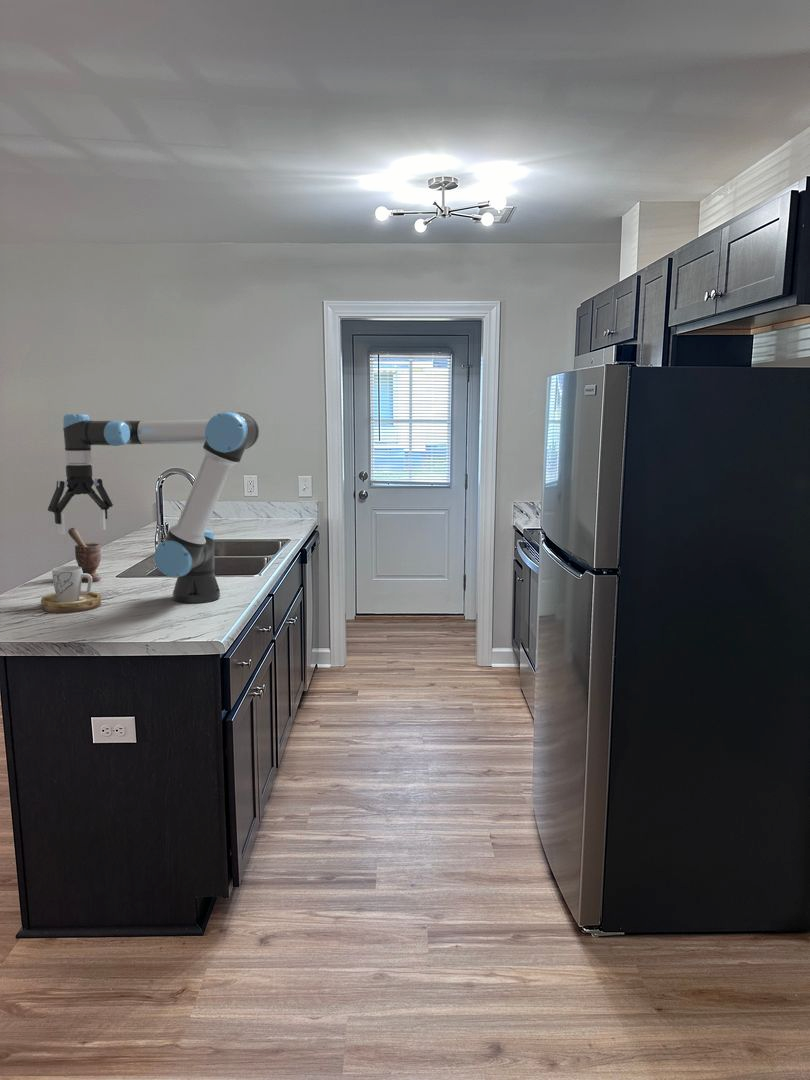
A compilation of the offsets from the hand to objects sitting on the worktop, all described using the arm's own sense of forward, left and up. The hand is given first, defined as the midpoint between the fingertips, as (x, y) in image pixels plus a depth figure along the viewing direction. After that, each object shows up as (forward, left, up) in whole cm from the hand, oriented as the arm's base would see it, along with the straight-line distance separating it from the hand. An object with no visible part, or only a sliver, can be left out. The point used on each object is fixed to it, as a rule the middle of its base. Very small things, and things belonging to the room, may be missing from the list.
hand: (82, 532), depth 240 cm
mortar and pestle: (+29, -16, -23) cm, 40 cm away
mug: (-2, +5, -21) cm, 22 cm away
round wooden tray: (-2, +5, -23) cm, 23 cm away
